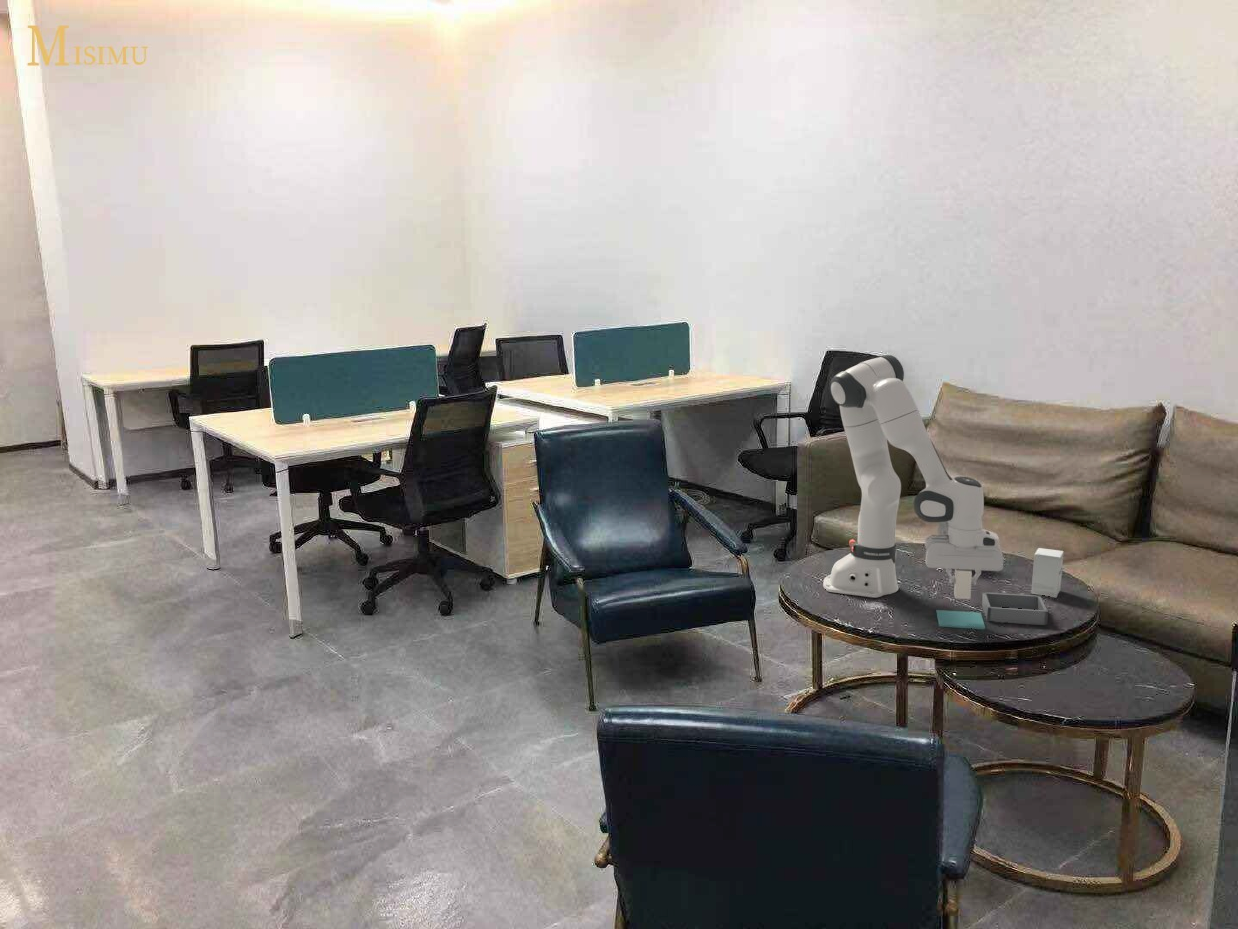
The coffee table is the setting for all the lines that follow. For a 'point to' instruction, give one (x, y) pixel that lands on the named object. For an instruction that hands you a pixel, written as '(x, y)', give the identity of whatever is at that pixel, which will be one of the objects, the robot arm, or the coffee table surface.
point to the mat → (960, 619)
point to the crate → (1012, 615)
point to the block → (962, 584)
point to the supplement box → (1047, 572)
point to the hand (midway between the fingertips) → (962, 583)
